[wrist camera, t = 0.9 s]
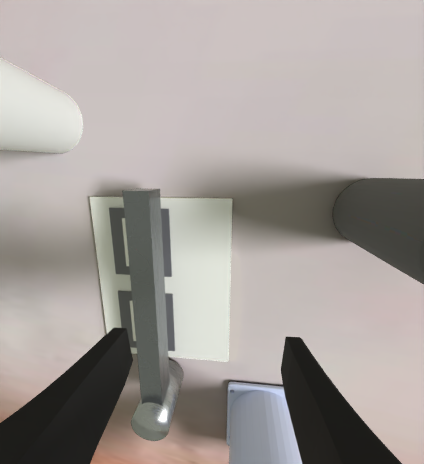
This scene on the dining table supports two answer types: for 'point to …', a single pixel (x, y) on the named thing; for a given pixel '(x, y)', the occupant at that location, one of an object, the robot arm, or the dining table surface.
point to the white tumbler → (36, 114)
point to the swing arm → (150, 315)
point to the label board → (173, 272)
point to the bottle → (385, 221)
